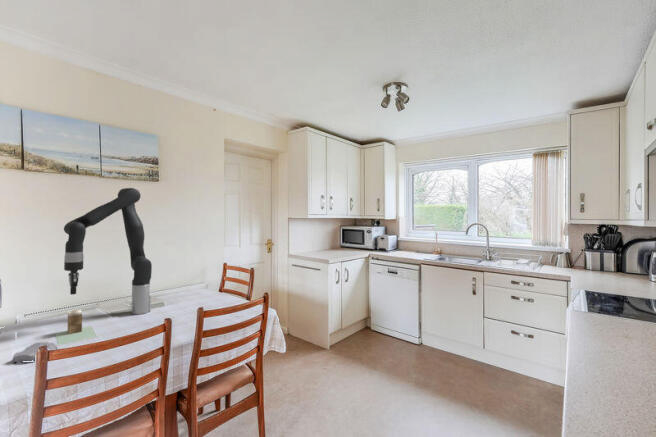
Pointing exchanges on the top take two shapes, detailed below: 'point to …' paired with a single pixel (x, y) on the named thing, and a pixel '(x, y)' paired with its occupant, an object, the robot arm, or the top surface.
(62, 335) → the sage mat
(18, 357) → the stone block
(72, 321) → the walnut block
